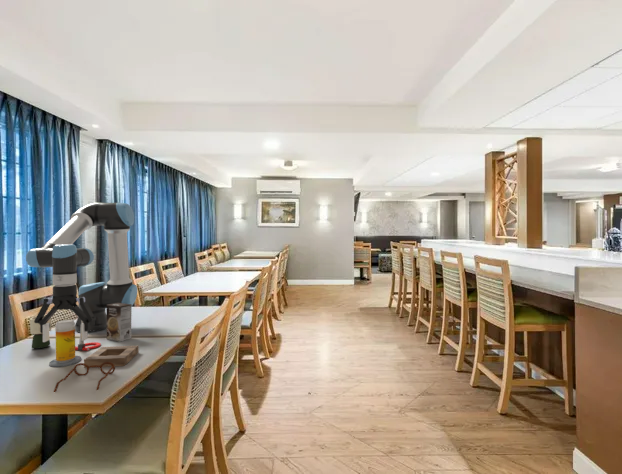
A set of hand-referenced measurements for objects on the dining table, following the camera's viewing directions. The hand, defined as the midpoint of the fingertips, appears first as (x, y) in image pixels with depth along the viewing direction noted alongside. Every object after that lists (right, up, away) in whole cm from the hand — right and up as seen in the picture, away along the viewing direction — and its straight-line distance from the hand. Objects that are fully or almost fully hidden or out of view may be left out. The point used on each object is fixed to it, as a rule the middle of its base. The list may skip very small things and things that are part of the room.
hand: (65, 340), depth 132 cm
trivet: (0, -8, 0) cm, 8 cm away
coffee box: (+4, -8, +29) cm, 30 cm away
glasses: (+20, -9, -18) cm, 28 cm away
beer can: (0, -8, 0) cm, 8 cm away
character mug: (-22, -8, +16) cm, 29 cm away
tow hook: (-2, -8, +17) cm, 19 cm away
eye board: (+17, -8, +2) cm, 19 cm away
